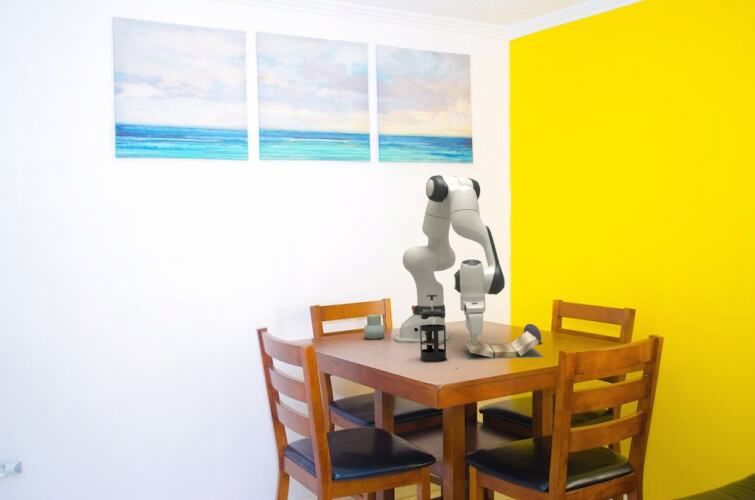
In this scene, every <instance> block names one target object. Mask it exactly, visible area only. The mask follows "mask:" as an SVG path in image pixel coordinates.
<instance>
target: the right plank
mask: <svg viewBox="0 0 755 500" xmlns="http://www.w3.org/2000/svg"><path fill="white" fill-rule="evenodd" d="M538 343H539V341H538V340H537V339H536V338H535V337H534V336H533V335H532V334H530V333H529V332H528V331H527V332H525V333H524V332H523V333H522V334H521V335H520V336H518V337H517V338H516V339H515V340H513V341H512V342H510V343H509V345H510V346H511V347H512V348H513V349H514V350H515V351H516V352H517V353H518V354H519V355H520V356H522V355H523V354H524V353H526V352H527V351H528V350H530V349H531V348H534V347H535V346H537V345H539V344H538Z"/></svg>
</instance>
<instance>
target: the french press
mask: <svg viewBox="0 0 755 500" xmlns="http://www.w3.org/2000/svg"><path fill="white" fill-rule="evenodd" d="M436 296H437V295H427V296H426V297H430V298H431V304H432V300H433V297H436ZM444 313H445V314H446V311H445V312H444V311H437V310H433V304H432V310H430V311H423V312H420V314H421V319H428V318H429V317H432V324H427V325H421V326H420V342H419V344H420V346H419V347H420V359H419V360H420V361H421V362H424V363H442V362H446V361H447V360H448V359H447V345H446V344H447V339H446V333H445V325H446V324H445V325H440V324H433V317H441V318H444ZM443 330H444V340H438V331H443ZM422 331H426V340H425V341H422ZM433 337H434V338H433ZM423 345H424V346H426V348H424V349H423ZM440 345H443V347H444V348H440V347H439V346H440Z"/></svg>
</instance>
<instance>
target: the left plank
mask: <svg viewBox="0 0 755 500" xmlns="http://www.w3.org/2000/svg"><path fill="white" fill-rule="evenodd" d="M465 347H466V348H467V350H469V351H470V352H471V353H475V354H479V355H483V356H488V357H492V358H493V355H494V351H493V350H492V349H491V348H490V346H489V344H487V343H484V342H483V343H482V342H478V341H477V344H472V343H471V339H466V342H465Z"/></svg>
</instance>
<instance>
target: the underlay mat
mask: <svg viewBox="0 0 755 500" xmlns="http://www.w3.org/2000/svg"><path fill="white" fill-rule="evenodd" d="M463 351H464V354H465V355H466V357H467V359H468V360H486V359H487V360H488V359H489V360H490V359H496V360H497V358H495V357H494V356H493V358H492V357H488V356H483V355H479V354H475V353H471V352H470V351H469V349H463ZM516 355H517V357H509V358H508V359H528V358H529V359H530V358H544V355H542V354H541V353H540V352H539V351H538V350H536V349H535V348H534V347H533V348H531V349H530V350H528V351H527V352H526V353H524V354H523V355H522V356H520V355H519V354H518V353H517V352H516Z"/></svg>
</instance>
